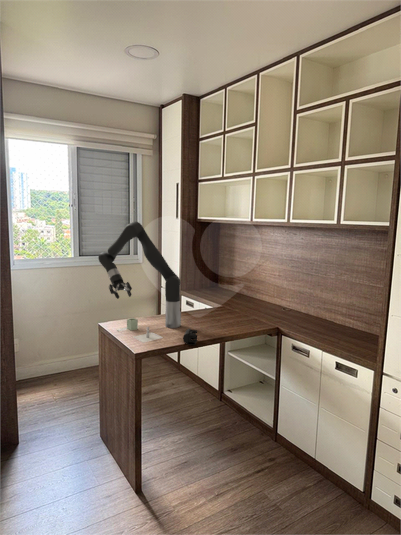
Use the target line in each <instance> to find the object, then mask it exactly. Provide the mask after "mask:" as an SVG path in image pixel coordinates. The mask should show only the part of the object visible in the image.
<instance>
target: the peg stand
mask: <svg viewBox="0 0 401 535" xmlns="http://www.w3.org/2000/svg"><path fill="white" fill-rule="evenodd" d="M132 338H133V339H135V340H137V341H139V342H140V343H142V344H144V343H148V342H152V341H156V340H160V339H163V338H164V337H163V336H161V335H159V334H157V333H154V332H150V326H146V333H144V334H140V335H135V336H132Z"/></svg>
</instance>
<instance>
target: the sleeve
mask: <svg viewBox="0 0 401 535" xmlns="http://www.w3.org/2000/svg"><path fill="white" fill-rule="evenodd" d="M138 323H139V321H138V319H137V318H135V317H132V318H126V327H127V330H129V331H137V330H138V329H139V326H138Z"/></svg>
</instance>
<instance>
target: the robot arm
mask: <svg viewBox="0 0 401 535" xmlns="http://www.w3.org/2000/svg"><path fill="white" fill-rule="evenodd" d="M134 238H135V239H136V238H137V239H138V241H139V242H140V244H141V247H142V250H143V251H142V252H143V254H144V257H145V258H146V260H147V261H148V262H149V263H148V264H150V265H151V266H152V267H153V269H155V270H157V272H158V273H159V274H160V275H161V276H162V278H163V279H164V281H165V283H164V284H165V285H164V294H165V323H164V324H165V325H164V326H165V327H166V328H167V329H177V328H179V327H180V326H182V312H181V295H180V292H181V291H180V290H181V289H180V288H181V287H180V286H181V278H180V277H179V275H178V274H176V273H175V271H173V269H172V268H171V267H170V265H169V264H168V262H167V260H166V259H165V257H164V256H163V255H162V253H161V252H160V251H159V249H158V248H157V246H156V245H155V244H154V243H153V241H152V240H151V239H150V236H149V235H148V233H147V231H146V230H145V228H144V227H143V225H142V224H141V223H140V222H139V221H132V222H130V223H127V225H126V226H125V227H124V229H123V230H122V232H121V233H120V234H119V236H118V237H117V239H116V240H115V241H114V242H113V243H112V244H111V245H110V246H109V247H108V248H107V252H105V251H104V252H100V253H98V255H97V256H98V257H97V259H98V262H99V263H100V265H102V267H103V268H104V269H105V270H106V273H107V275H108V278H109V281H110V284H109V285H108V290H109V293H110V294H111V295H114V296H115V298H116V299H117V300H118V299H119V298H120V295H119V293H118V291H125V292H126V293H127V296H128V298H130V297H132V292H131V291H132V289H133V288H132V286H131V284H130V282H129V281H127V282H124V279H123V277H122V274H121V273H120V271H119V269H118V268H117V265H116V263H115V262H114V261H115V259H116V258H117V255H118V254H119V253H121V251H122V250H123V249H124V247H125V246H126V244H127V243H128V242H129V241H131V240H132V239H134Z"/></svg>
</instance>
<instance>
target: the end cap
mask: <svg viewBox="0 0 401 535" xmlns="http://www.w3.org/2000/svg"><path fill="white" fill-rule="evenodd" d="M182 341H183V343H185V344H186V345H188V346H196V345H197V341H198V330H197V329H192V328H188V329H186V330H185V332H184V335H183V336H182Z"/></svg>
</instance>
